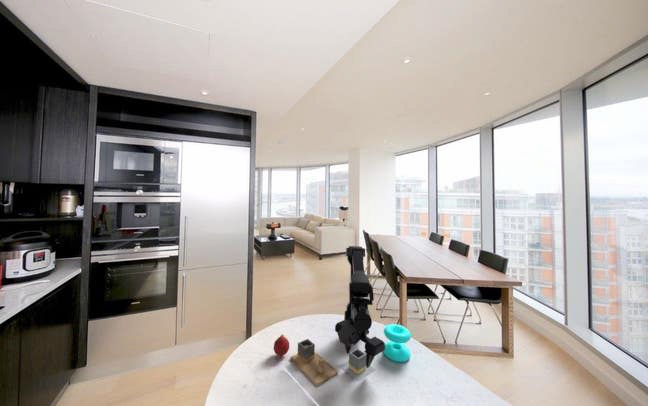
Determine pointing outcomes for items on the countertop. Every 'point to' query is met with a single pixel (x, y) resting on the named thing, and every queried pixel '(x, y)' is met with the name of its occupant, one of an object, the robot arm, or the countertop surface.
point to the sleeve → (357, 361)
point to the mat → (354, 374)
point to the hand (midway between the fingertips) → (357, 360)
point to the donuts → (397, 342)
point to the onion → (281, 346)
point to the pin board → (312, 363)
